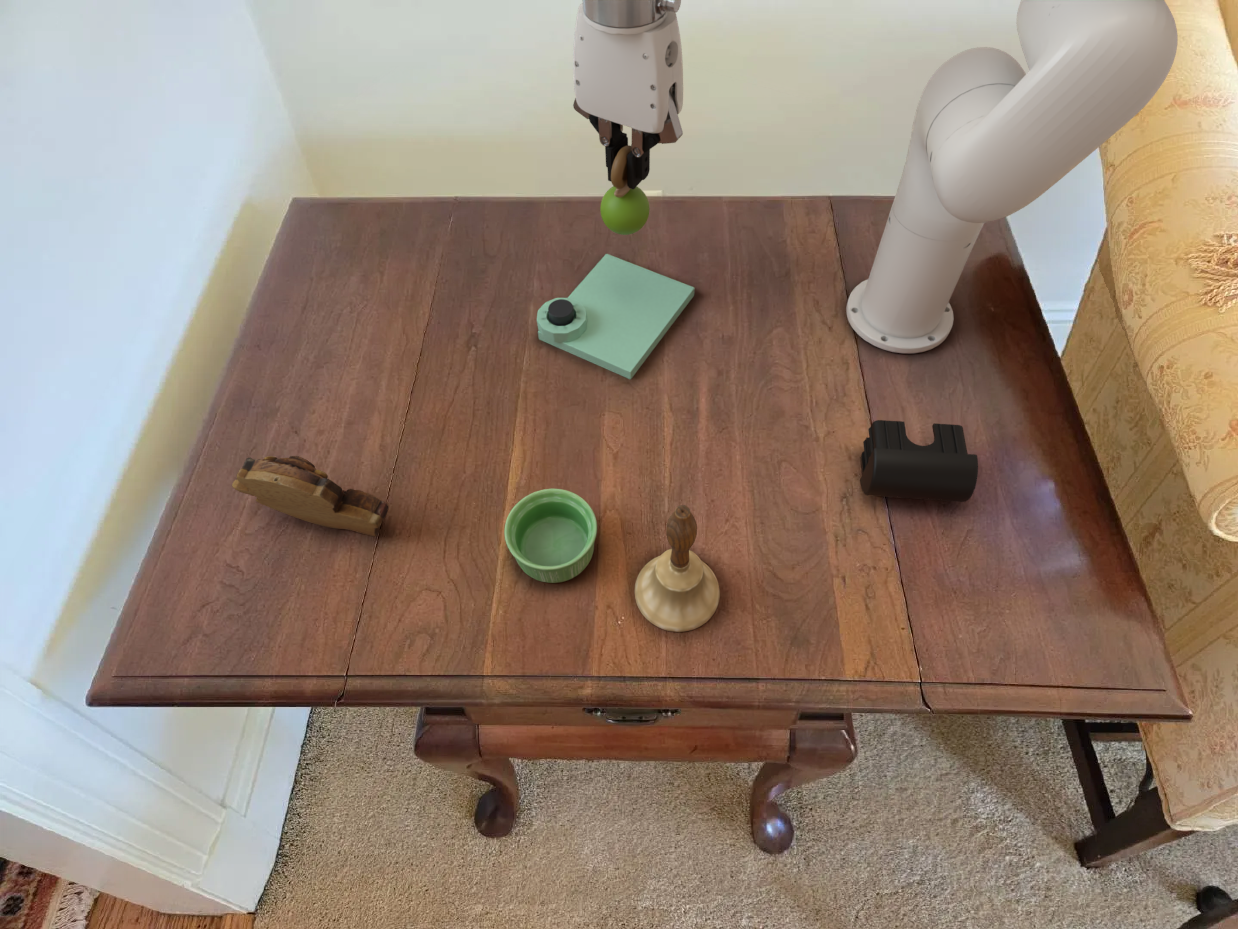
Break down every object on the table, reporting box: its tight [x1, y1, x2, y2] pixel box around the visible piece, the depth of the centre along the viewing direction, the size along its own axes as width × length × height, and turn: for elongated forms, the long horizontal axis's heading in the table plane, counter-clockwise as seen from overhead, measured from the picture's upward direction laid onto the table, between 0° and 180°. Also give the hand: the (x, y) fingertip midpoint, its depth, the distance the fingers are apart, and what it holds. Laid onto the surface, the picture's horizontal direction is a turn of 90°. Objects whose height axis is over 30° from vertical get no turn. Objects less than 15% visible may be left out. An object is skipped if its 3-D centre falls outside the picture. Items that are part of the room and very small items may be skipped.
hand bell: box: [634, 504, 721, 633], centre depth 69 cm, size 8×8×16 cm
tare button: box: [548, 299, 574, 326], centre depth 93 cm, size 3×3×2 cm
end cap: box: [859, 419, 979, 503], centre depth 79 cm, size 10×7×7 cm
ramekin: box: [503, 488, 598, 584], centre depth 77 cm, size 9×9×4 cm
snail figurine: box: [599, 143, 651, 236], centre depth 83 cm, size 5×6×12 cm
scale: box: [536, 253, 695, 380], centre depth 95 cm, size 16×14×3 cm
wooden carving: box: [231, 455, 390, 537], centre depth 77 cm, size 16×5×10 cm, turn 78°
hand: (627, 177), depth 83 cm, fingers closed on snail figurine
